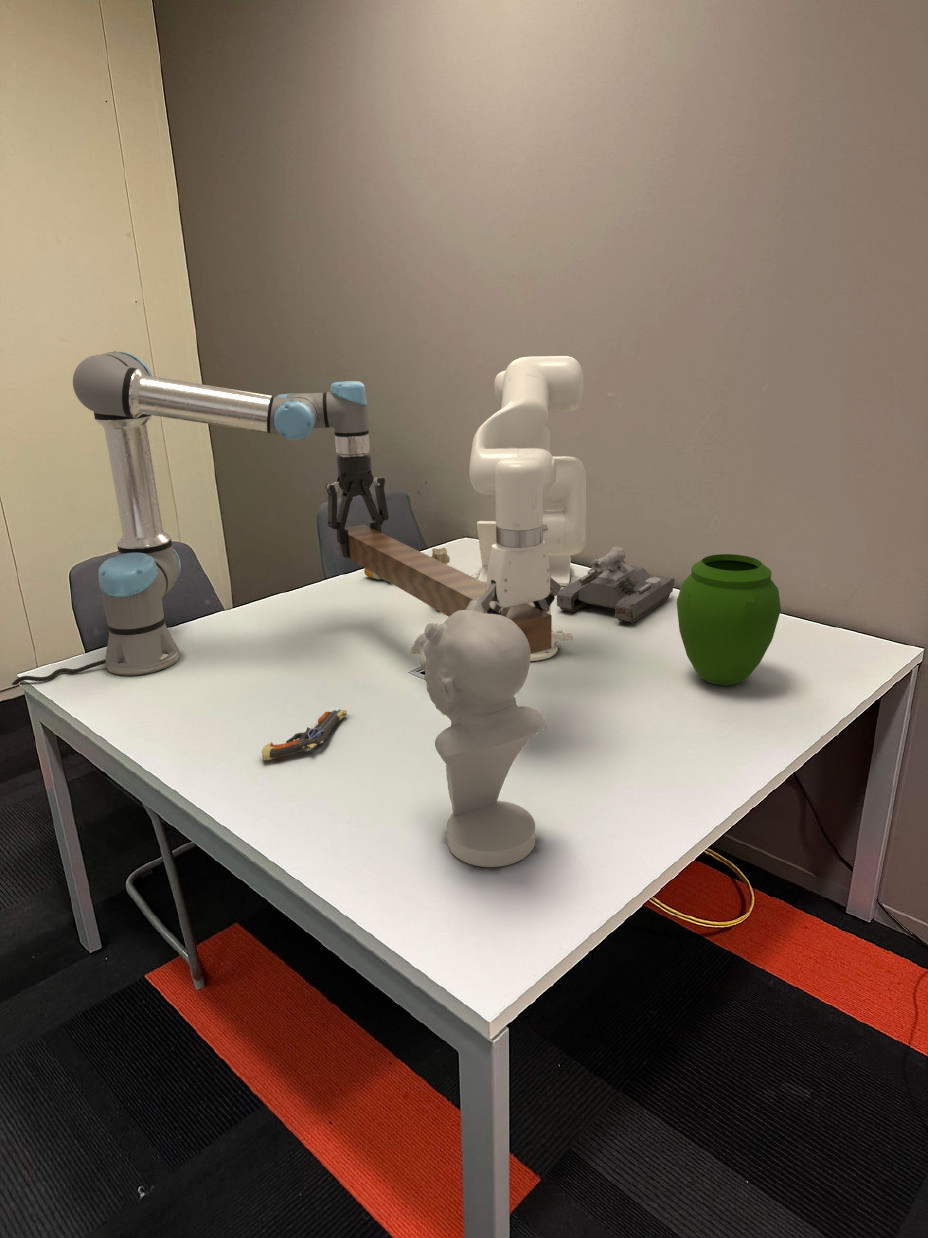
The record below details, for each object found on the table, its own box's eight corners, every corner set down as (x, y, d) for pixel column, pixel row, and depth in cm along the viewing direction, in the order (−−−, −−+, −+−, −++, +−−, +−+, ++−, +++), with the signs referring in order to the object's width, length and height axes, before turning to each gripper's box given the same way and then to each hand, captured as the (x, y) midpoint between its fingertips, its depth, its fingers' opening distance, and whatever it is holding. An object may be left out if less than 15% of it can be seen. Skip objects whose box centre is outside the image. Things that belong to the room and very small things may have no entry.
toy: (603, 584, 229) (605, 530, 224) (673, 597, 218) (677, 540, 213) (555, 612, 210) (556, 553, 205) (630, 627, 199) (633, 566, 194)
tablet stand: (569, 585, 229) (570, 524, 223) (476, 584, 232) (475, 523, 226) (570, 566, 246) (571, 508, 240) (484, 564, 249) (483, 507, 243)
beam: (551, 648, 142) (551, 615, 140) (518, 657, 139) (518, 623, 137) (366, 548, 202) (364, 524, 200) (340, 553, 199) (337, 528, 197)
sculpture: (453, 601, 220) (451, 545, 214) (454, 611, 213) (452, 553, 208) (430, 602, 219) (428, 546, 214) (430, 612, 213) (428, 554, 207)
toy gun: (256, 750, 145) (311, 748, 142) (297, 707, 162) (347, 704, 160) (259, 765, 145) (314, 762, 143) (300, 720, 163) (349, 718, 161)
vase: (783, 670, 175) (796, 555, 166) (758, 707, 159) (770, 583, 151) (690, 652, 185) (697, 543, 176) (657, 685, 169) (664, 568, 161)
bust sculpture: (481, 772, 140) (476, 569, 128) (565, 848, 120) (569, 617, 108) (392, 800, 134) (378, 588, 121) (465, 886, 114) (457, 642, 101)
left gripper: (386, 446, 196) (392, 543, 204) (305, 456, 187) (315, 557, 195) (400, 451, 190) (406, 550, 198) (318, 461, 181) (327, 565, 189)
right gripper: (550, 522, 144) (549, 620, 151) (461, 539, 136) (464, 641, 143) (576, 532, 138) (574, 633, 145) (485, 550, 130) (487, 657, 137)
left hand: (361, 553), depth 197 cm, fingers closed on beam, 7 cm apart
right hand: (520, 636), depth 144 cm, fingers closed on beam, 6 cm apart
